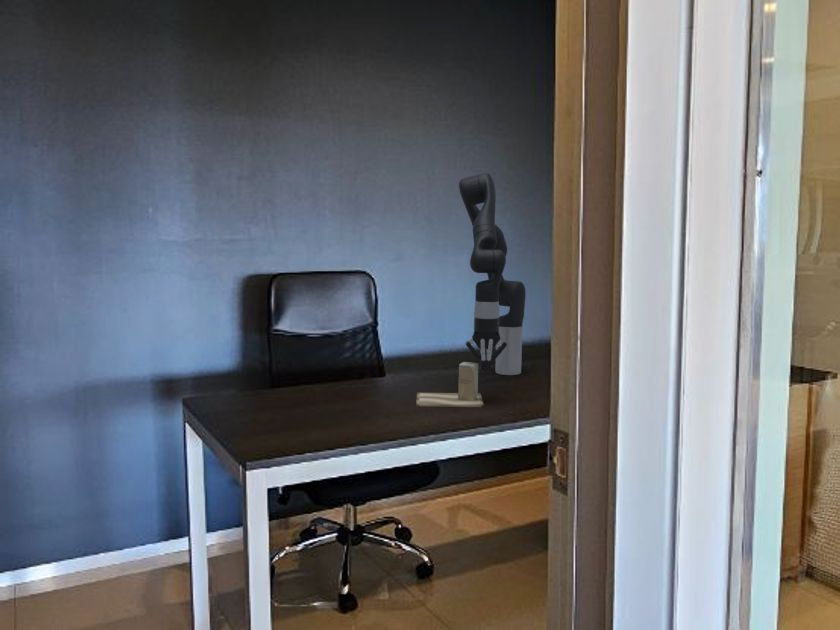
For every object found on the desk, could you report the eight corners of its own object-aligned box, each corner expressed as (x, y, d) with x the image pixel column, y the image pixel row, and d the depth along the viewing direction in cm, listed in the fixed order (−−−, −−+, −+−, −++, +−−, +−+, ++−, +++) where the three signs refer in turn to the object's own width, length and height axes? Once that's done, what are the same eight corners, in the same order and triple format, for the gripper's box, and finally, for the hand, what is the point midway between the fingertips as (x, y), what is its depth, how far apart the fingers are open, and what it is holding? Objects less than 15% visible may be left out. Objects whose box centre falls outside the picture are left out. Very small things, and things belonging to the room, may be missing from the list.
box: (457, 399, 225) (457, 364, 223) (462, 396, 229) (462, 361, 227) (473, 401, 223) (474, 365, 221) (478, 398, 227) (478, 362, 225)
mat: (417, 394, 233) (417, 392, 233) (480, 395, 233) (480, 393, 233) (416, 406, 219) (416, 404, 219) (483, 407, 219) (483, 405, 219)
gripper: (465, 317, 218) (464, 374, 221) (510, 317, 218) (508, 375, 221) (464, 314, 226) (463, 369, 228) (507, 314, 226) (506, 369, 228)
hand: (485, 372), depth 224 cm, fingers closed
